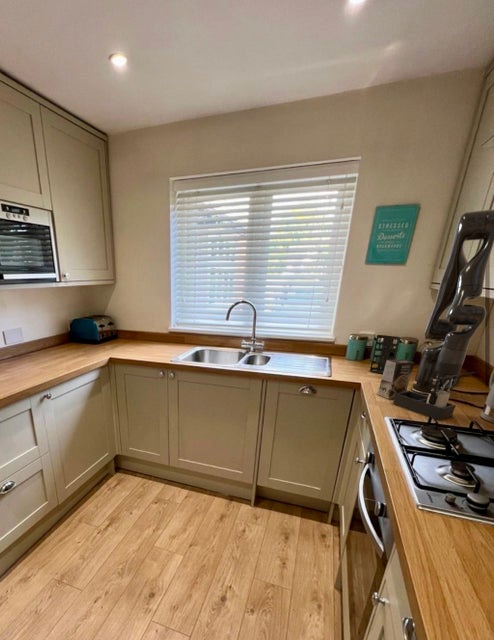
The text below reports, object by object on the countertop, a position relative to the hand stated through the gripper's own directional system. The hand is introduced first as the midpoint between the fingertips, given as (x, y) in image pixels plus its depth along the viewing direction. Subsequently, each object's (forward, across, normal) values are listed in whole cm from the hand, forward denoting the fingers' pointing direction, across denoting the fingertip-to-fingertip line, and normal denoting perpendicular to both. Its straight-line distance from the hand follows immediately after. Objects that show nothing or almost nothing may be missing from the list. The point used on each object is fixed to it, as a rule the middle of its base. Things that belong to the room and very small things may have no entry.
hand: (436, 402), depth 128 cm
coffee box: (+5, +4, +19) cm, 20 cm away
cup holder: (+5, 0, +4) cm, 6 cm away
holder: (+5, +36, +45) cm, 58 cm away
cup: (+4, 0, 0) cm, 4 cm away
